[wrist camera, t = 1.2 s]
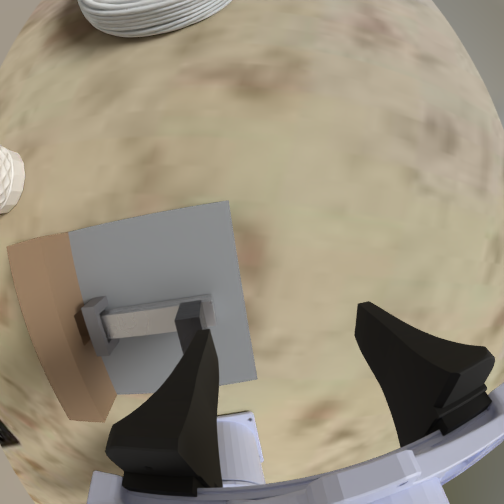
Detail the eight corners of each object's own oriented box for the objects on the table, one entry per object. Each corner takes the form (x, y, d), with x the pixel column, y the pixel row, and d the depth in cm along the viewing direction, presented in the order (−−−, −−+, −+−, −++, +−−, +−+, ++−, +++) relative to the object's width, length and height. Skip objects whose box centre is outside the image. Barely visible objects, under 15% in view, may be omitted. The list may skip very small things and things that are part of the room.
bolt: (210, 291, 22) (210, 315, 17) (216, 319, 22) (217, 348, 17) (98, 307, 21) (72, 331, 16) (106, 333, 21) (83, 362, 16)
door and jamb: (227, 201, 23) (232, 197, 17) (255, 370, 25) (266, 408, 19) (43, 238, 21) (6, 246, 15) (89, 386, 23) (69, 419, 17)
